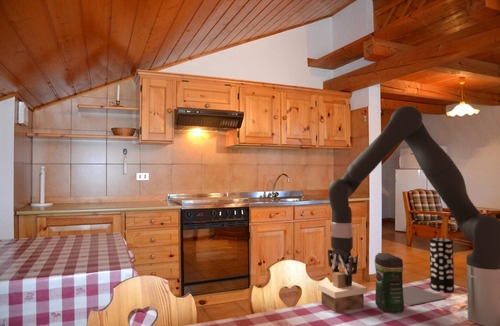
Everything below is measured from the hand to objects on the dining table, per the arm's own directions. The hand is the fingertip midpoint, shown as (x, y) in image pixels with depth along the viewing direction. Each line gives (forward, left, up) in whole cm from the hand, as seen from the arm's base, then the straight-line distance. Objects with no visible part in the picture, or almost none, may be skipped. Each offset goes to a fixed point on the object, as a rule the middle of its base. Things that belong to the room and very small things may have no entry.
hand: (342, 282), depth 119 cm
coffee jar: (-15, -3, -8) cm, 18 cm away
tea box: (0, 0, -8) cm, 8 cm away
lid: (0, 0, -3) cm, 3 cm away
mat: (-23, -20, -8) cm, 32 cm away
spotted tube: (-35, -33, -8) cm, 49 cm away
